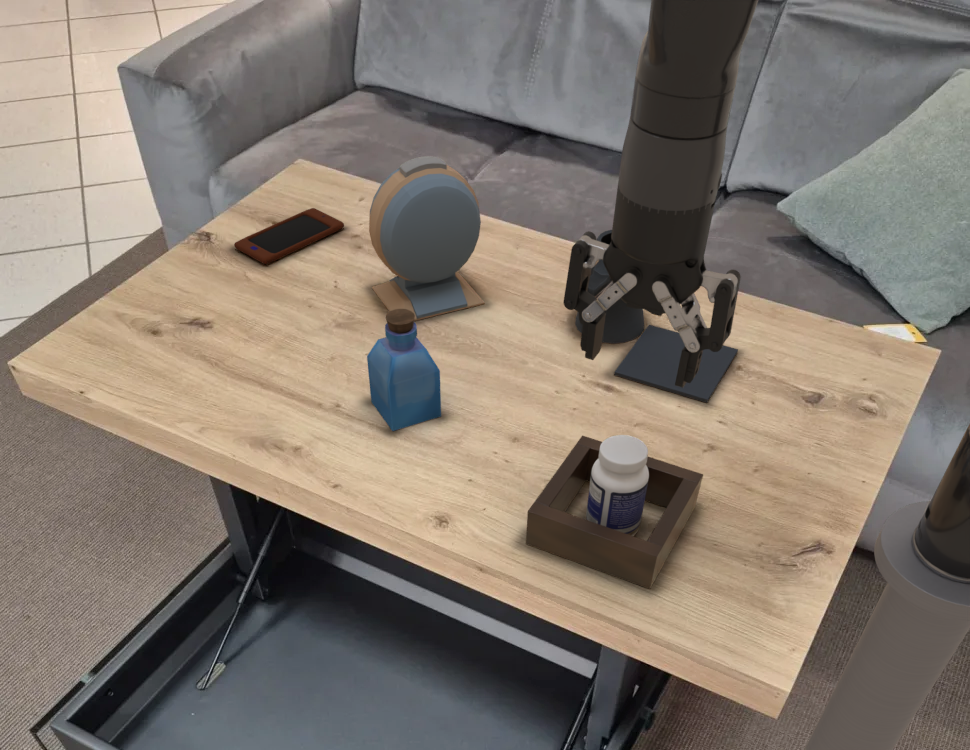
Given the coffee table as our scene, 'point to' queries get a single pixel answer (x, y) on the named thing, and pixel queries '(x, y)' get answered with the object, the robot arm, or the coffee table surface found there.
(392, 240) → the alarm clock
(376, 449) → the coffee table surface
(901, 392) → the coffee table surface
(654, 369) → the rubber mat
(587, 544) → the walnut box
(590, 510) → the pill bottle
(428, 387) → the perfume bottle
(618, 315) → the black vase
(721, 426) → the coffee table surface
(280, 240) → the smartphone
